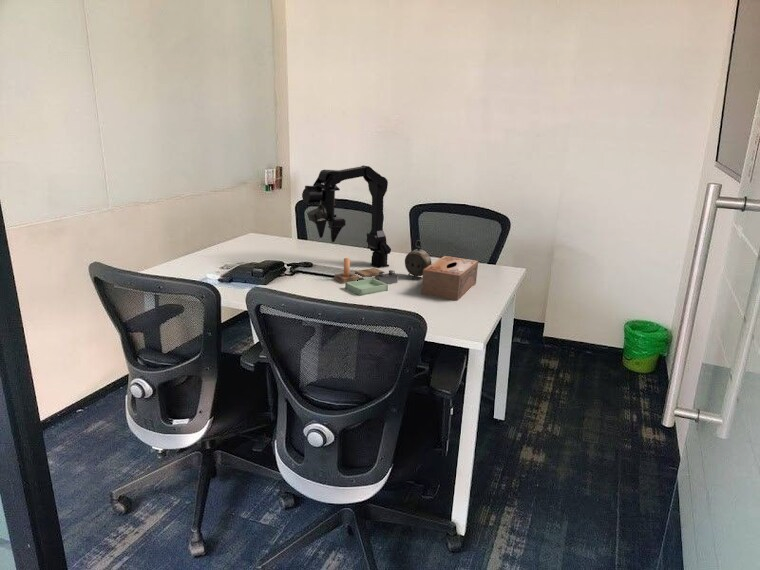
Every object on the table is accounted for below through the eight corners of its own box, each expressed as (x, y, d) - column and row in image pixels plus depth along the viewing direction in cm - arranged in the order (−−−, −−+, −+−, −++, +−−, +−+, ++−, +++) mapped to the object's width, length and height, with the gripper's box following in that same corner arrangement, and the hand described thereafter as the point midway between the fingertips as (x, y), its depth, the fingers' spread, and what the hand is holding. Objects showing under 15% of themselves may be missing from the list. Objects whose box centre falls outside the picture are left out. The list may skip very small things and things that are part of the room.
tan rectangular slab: (374, 273, 243) (374, 268, 242) (383, 277, 238) (384, 271, 237) (354, 276, 237) (354, 270, 236) (364, 280, 232) (364, 275, 231)
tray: (372, 283, 227) (372, 278, 226) (387, 290, 219) (388, 284, 219) (345, 288, 219) (345, 282, 219) (360, 295, 212) (360, 289, 211)
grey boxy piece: (392, 280, 232) (393, 269, 231) (397, 282, 230) (397, 271, 229) (375, 283, 227) (375, 272, 226) (379, 285, 225) (380, 274, 223)
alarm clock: (430, 279, 237) (433, 241, 233) (424, 281, 233) (427, 243, 228) (408, 274, 243) (411, 237, 238) (401, 276, 239) (404, 239, 234)
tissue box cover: (457, 301, 212) (459, 275, 209) (421, 294, 217) (423, 269, 214) (475, 284, 234) (478, 260, 231) (442, 278, 240) (444, 255, 237)
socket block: (348, 277, 235) (348, 272, 234) (358, 281, 229) (358, 276, 229) (334, 279, 230) (334, 274, 230) (343, 283, 225) (344, 278, 225)
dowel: (347, 279, 231) (347, 257, 229) (350, 280, 230) (351, 259, 227) (342, 280, 230) (342, 258, 227) (345, 281, 228) (346, 259, 226)
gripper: (298, 199, 231) (298, 237, 236) (322, 206, 217) (322, 246, 222) (321, 198, 238) (321, 234, 242) (346, 205, 224) (345, 243, 228)
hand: (326, 239), depth 233 cm, fingers open, 9 cm apart
